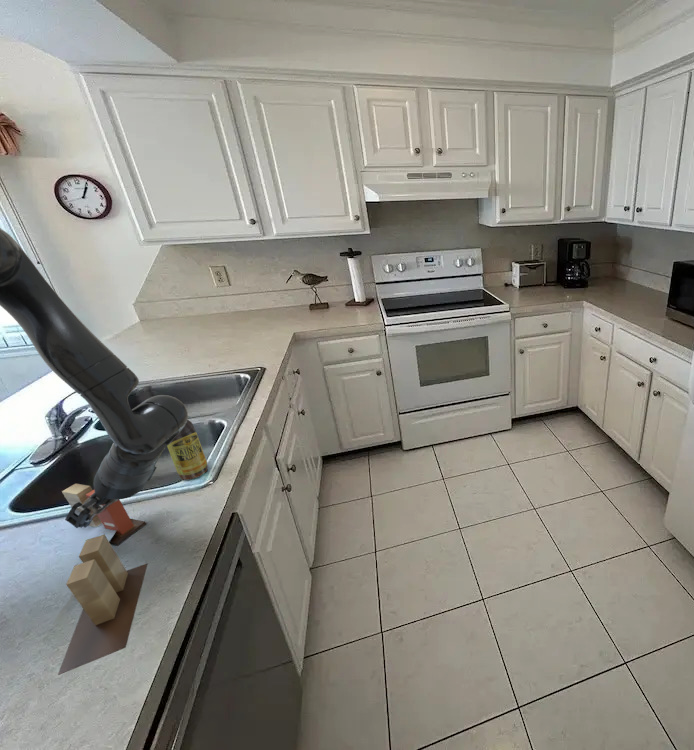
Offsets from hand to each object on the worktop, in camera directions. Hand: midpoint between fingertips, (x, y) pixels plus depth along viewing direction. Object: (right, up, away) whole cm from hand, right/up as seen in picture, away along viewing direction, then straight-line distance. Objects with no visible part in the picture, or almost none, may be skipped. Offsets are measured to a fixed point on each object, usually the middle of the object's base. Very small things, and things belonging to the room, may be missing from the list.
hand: (105, 508), depth 84 cm
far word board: (-2, -6, +3) cm, 7 cm away
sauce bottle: (+4, +2, +20) cm, 21 cm away
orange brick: (+1, -5, +2) cm, 6 cm away
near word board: (+14, -14, -14) cm, 24 cm away
